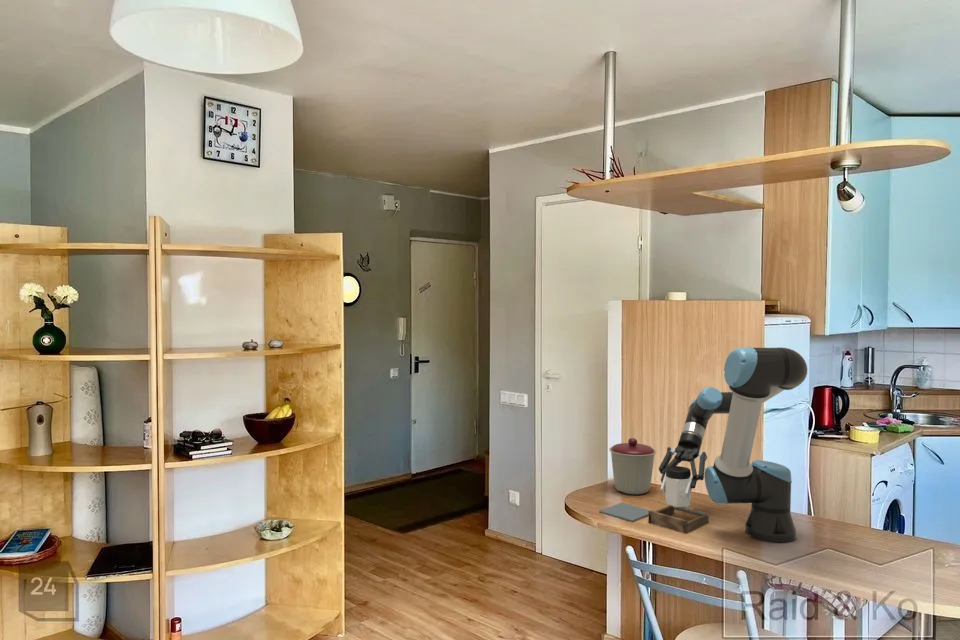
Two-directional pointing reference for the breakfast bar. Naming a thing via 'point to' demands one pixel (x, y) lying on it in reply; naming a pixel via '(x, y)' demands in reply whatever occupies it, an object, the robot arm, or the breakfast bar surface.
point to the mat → (626, 512)
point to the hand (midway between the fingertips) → (674, 493)
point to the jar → (677, 486)
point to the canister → (632, 466)
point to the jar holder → (677, 519)
